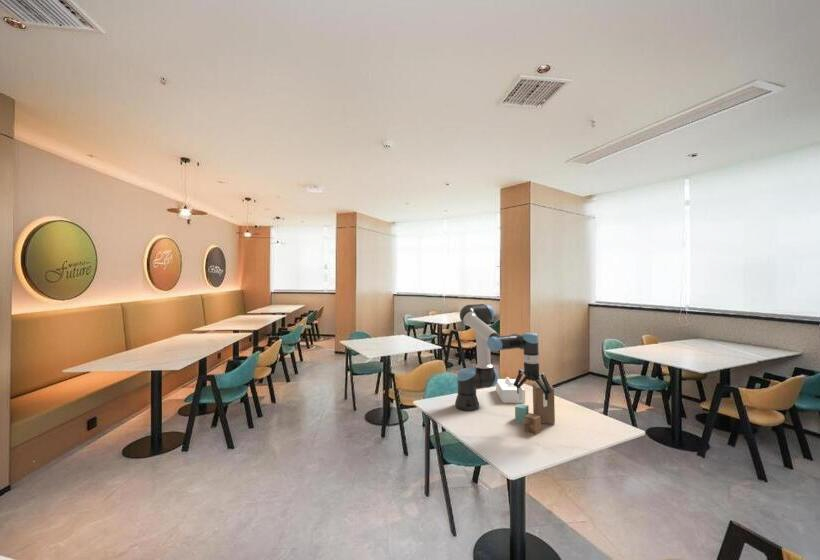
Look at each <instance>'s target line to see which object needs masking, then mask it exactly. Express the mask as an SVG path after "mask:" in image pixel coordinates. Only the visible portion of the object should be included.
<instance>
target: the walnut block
mask: <svg viewBox="0 0 820 560" xmlns="http://www.w3.org/2000/svg"><path fill="white" fill-rule="evenodd" d="M524 419H525V423H524V432H526V433H529V434H531V435H536V436H537V435H538V434H539V433H541V432H542V423H541V416H539V415H535V414H533V412H529V414H527V415H525V416H524Z"/></svg>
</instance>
